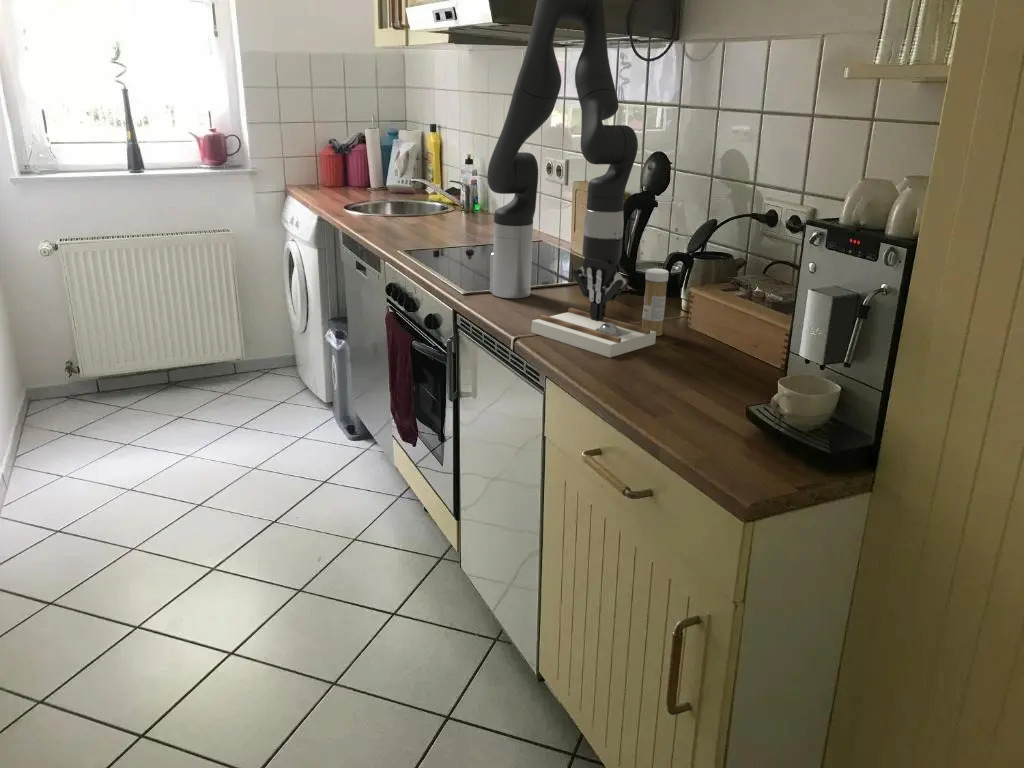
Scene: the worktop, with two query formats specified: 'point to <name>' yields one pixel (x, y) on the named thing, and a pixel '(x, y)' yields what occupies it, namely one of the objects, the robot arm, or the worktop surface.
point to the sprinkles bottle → (654, 300)
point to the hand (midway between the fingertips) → (597, 320)
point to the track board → (592, 333)
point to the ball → (609, 329)
